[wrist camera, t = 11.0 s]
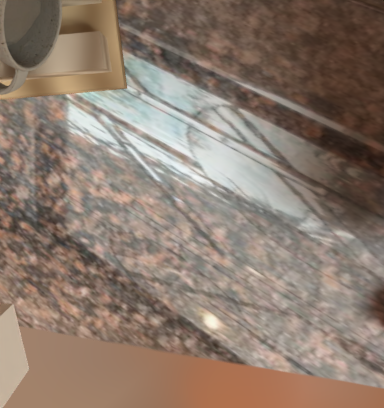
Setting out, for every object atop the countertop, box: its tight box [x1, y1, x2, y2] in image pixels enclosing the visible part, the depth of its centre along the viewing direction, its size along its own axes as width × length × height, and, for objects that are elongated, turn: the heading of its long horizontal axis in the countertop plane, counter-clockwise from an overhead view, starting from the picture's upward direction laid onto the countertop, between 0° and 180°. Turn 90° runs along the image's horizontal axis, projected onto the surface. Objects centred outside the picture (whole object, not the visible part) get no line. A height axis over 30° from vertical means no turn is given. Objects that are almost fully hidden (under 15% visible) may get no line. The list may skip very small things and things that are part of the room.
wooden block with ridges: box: [0, 0, 127, 100], centre depth 28 cm, size 16×12×4 cm
